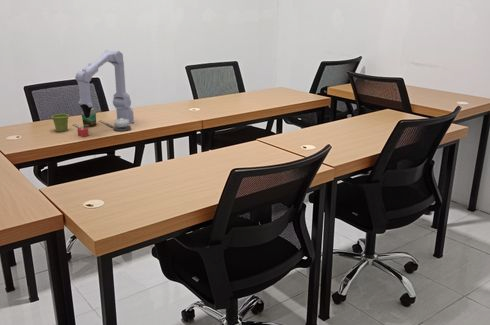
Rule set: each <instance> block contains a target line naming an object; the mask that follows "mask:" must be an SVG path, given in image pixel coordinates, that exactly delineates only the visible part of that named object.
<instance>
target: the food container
mask: <svg viewBox="0 0 490 325" xmlns="http://www.w3.org/2000/svg"><path fill="white" fill-rule="evenodd" d="M97 113H98V111H97V108H96V107H95V106H94V107H92V108H91V112H90V118H85V116H84V113H83V110H81V111H80V114H81V117H82V118H81V119H82V126H83V127H84V128H93V127H95V126H97Z"/></svg>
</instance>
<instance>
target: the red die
mask: <svg viewBox="0 0 490 325" xmlns="http://www.w3.org/2000/svg"><path fill="white" fill-rule="evenodd" d="M76 129H77V136H78V137H81V138H85V137H88V136H90V135H89V129H88V127H84V126H83V127H82V128H79V129H78V128H76Z"/></svg>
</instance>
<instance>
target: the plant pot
mask: <svg viewBox="0 0 490 325" xmlns="http://www.w3.org/2000/svg"><path fill="white" fill-rule="evenodd" d="M69 116H70V115H69V114H68V113H57V114H53V115H51V116H50V117H51V118H52V121H53V124H54V128H55V130H56V132H60V133H61V132H67V131H68V126H69V125H68V122H69Z"/></svg>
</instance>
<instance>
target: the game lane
mask: <svg viewBox="0 0 490 325" xmlns="http://www.w3.org/2000/svg"><path fill="white" fill-rule="evenodd" d="M98 122H100V123H101V124H102V125H105V126H107V127H108V128H111V129H113V127H115V125H114V126H113V125H112V124H109V122H106V121H105V120H103V119H100V120H98ZM72 126H74V127H76V129H79V128H83V127H81V126H80V125H79V124H77V123H73V124H72Z"/></svg>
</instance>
